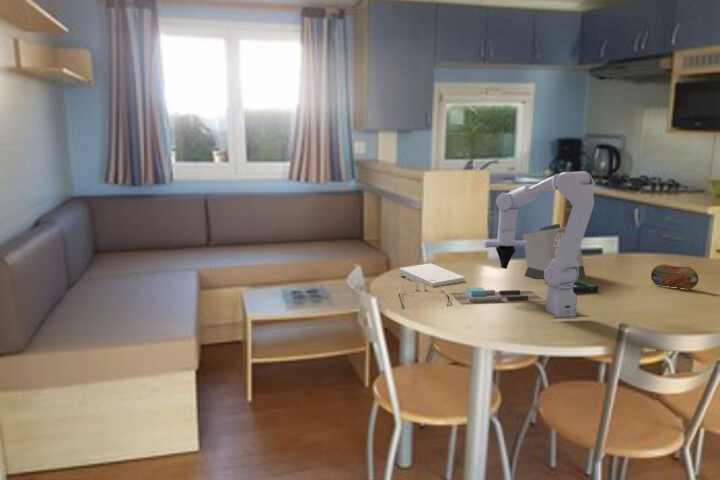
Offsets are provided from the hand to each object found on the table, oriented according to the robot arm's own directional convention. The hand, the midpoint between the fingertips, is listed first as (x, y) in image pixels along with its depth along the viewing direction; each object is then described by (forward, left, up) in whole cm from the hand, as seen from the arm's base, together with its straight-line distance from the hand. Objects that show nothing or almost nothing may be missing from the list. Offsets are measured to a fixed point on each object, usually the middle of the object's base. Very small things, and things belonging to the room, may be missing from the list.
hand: (503, 267), depth 192 cm
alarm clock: (+22, -30, -10) cm, 38 cm away
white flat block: (+20, +20, -10) cm, 30 cm away
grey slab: (-6, +10, -8) cm, 14 cm away
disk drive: (+4, -28, -10) cm, 30 cm away
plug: (-6, +12, -8) cm, 16 cm away
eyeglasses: (-4, +29, -10) cm, 31 cm away
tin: (+3, -67, -10) cm, 68 cm away
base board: (-6, +4, -9) cm, 12 cm away
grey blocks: (-6, -1, -8) cm, 10 cm away
